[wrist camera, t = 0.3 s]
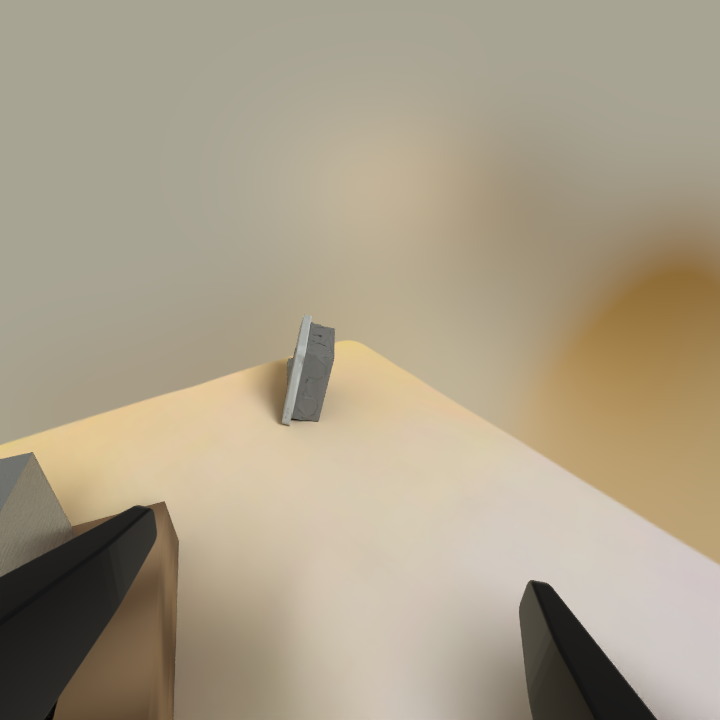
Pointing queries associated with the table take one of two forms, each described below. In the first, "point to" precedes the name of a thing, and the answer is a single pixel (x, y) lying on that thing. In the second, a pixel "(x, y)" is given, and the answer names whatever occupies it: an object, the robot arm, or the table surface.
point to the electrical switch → (308, 372)
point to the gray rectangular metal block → (28, 516)
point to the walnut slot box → (133, 643)
